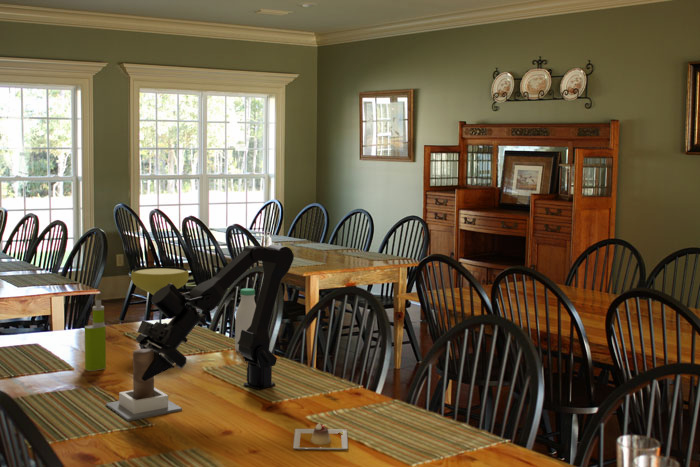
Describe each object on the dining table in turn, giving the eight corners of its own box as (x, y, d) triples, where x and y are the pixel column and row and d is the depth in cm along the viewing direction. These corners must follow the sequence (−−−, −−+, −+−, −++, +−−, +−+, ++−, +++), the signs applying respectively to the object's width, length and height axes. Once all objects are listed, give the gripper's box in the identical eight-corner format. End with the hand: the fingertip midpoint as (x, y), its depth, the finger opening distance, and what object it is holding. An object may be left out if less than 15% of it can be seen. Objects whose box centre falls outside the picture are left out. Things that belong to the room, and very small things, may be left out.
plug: (157, 400, 202) (157, 349, 200) (148, 406, 197) (147, 354, 195) (139, 398, 203) (139, 348, 201) (129, 404, 198) (129, 353, 196)
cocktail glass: (146, 355, 250) (146, 276, 247) (122, 343, 263) (122, 268, 261) (198, 347, 261) (198, 271, 258) (172, 336, 275) (172, 264, 272)
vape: (108, 368, 235) (107, 300, 232) (89, 371, 230) (88, 303, 228) (102, 365, 237) (101, 299, 235) (83, 368, 233) (82, 301, 231)
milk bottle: (247, 354, 253) (247, 292, 251) (230, 350, 258) (230, 289, 256) (264, 350, 260) (264, 289, 257) (247, 346, 264) (247, 286, 262)
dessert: (346, 433, 187) (347, 414, 186) (347, 453, 175) (348, 432, 174) (295, 433, 186) (295, 413, 186) (292, 452, 174) (293, 431, 174)
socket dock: (157, 396, 210) (157, 382, 209) (181, 410, 199) (181, 396, 198) (105, 405, 201) (105, 391, 201) (128, 421, 190) (127, 406, 190)
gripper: (142, 302, 207) (101, 350, 201) (174, 315, 192) (131, 367, 187) (170, 328, 213) (131, 375, 207) (204, 342, 198) (162, 393, 192)
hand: (138, 377), depth 198 cm, fingers closed on plug, 5 cm apart
